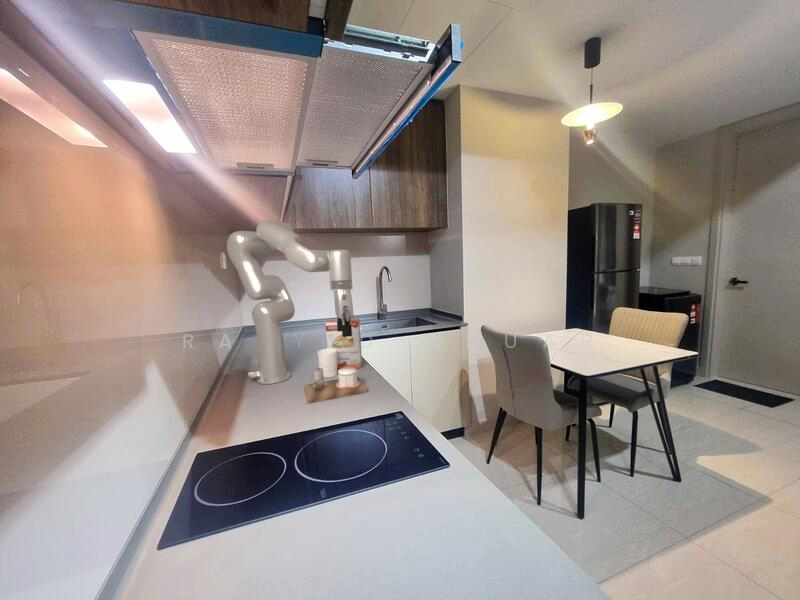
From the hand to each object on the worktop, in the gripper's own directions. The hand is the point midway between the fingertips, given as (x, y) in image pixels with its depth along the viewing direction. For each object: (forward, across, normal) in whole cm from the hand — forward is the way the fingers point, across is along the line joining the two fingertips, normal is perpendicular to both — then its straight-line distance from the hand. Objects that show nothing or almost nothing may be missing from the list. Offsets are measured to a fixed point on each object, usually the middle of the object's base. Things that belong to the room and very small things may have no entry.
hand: (344, 333), depth 113 cm
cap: (+18, 0, 0) cm, 18 cm away
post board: (+20, 0, +5) cm, 21 cm away
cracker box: (+20, +24, -4) cm, 32 cm away
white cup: (+20, +18, +4) cm, 27 cm away
